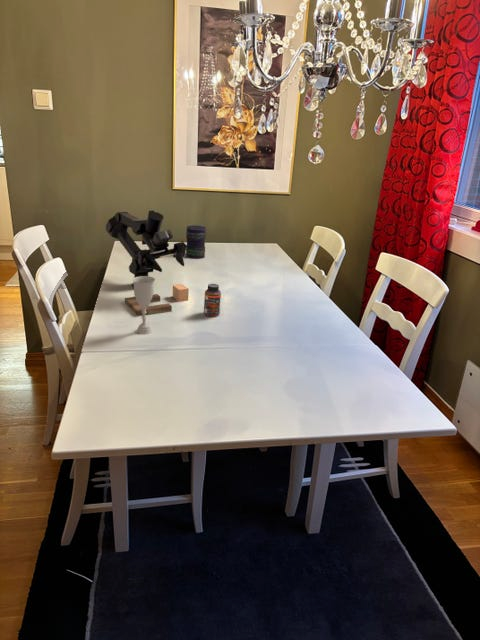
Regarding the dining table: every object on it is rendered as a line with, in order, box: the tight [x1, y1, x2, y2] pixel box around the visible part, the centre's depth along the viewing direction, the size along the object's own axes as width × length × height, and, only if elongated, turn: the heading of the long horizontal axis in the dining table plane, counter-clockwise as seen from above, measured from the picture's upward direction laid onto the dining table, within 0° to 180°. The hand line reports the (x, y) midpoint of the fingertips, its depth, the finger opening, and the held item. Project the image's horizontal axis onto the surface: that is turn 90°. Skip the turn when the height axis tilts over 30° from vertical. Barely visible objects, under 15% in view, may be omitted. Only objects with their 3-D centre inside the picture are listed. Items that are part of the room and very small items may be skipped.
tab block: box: [172, 283, 189, 303], centre depth 192 cm, size 6×4×5 cm, turn 31°
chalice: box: [132, 275, 156, 335], centre depth 159 cm, size 7×7×18 cm
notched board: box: [124, 293, 173, 317], centre depth 182 cm, size 14×13×2 cm
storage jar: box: [185, 224, 207, 260], centre depth 249 cm, size 10×10×15 cm
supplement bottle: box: [203, 283, 222, 318], centre depth 178 cm, size 6×6×11 cm
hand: (172, 268), depth 180 cm, fingers open, 9 cm apart
